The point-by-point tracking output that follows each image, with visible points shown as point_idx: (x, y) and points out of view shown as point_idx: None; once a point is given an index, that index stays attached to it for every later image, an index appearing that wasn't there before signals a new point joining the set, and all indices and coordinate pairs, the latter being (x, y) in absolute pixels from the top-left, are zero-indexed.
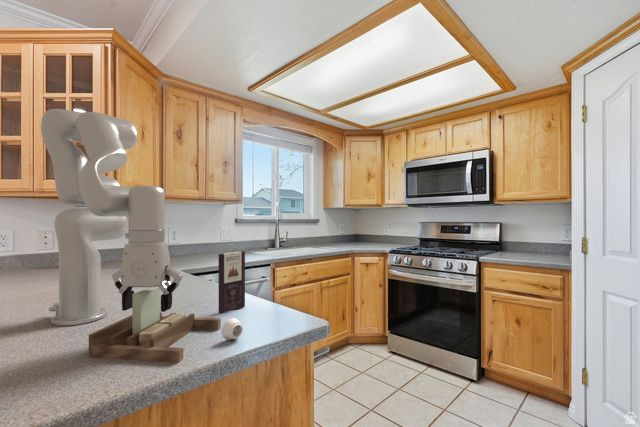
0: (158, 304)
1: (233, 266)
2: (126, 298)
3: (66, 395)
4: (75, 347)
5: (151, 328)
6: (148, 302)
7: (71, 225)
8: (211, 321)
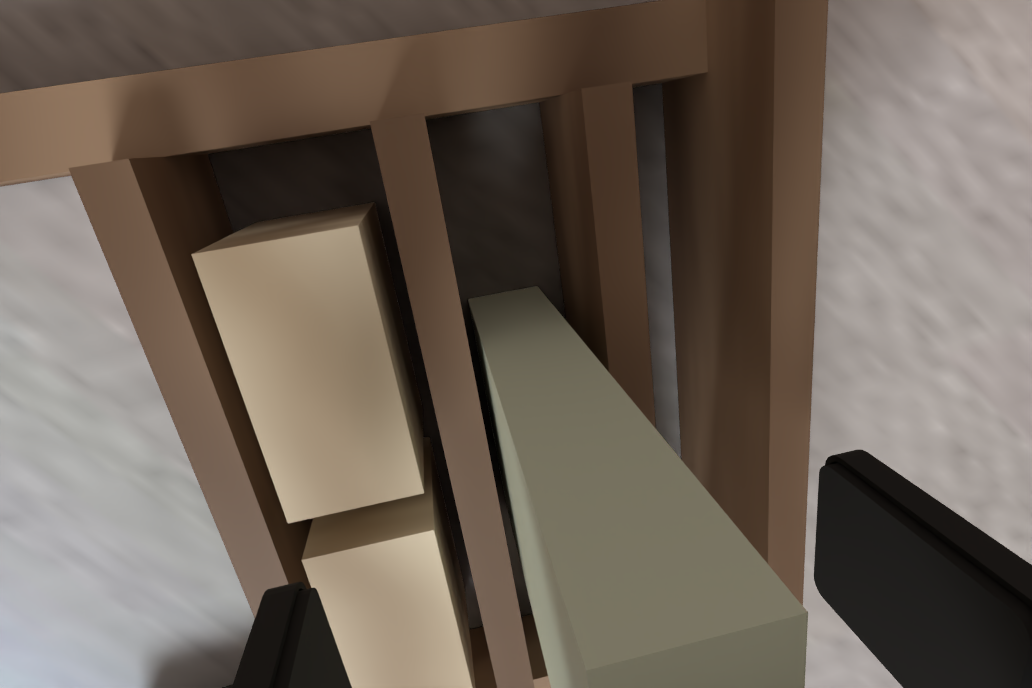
0: None
1: None
2: (948, 586)
3: None
4: (944, 155)
5: (357, 378)
6: (557, 648)
7: None
8: None
